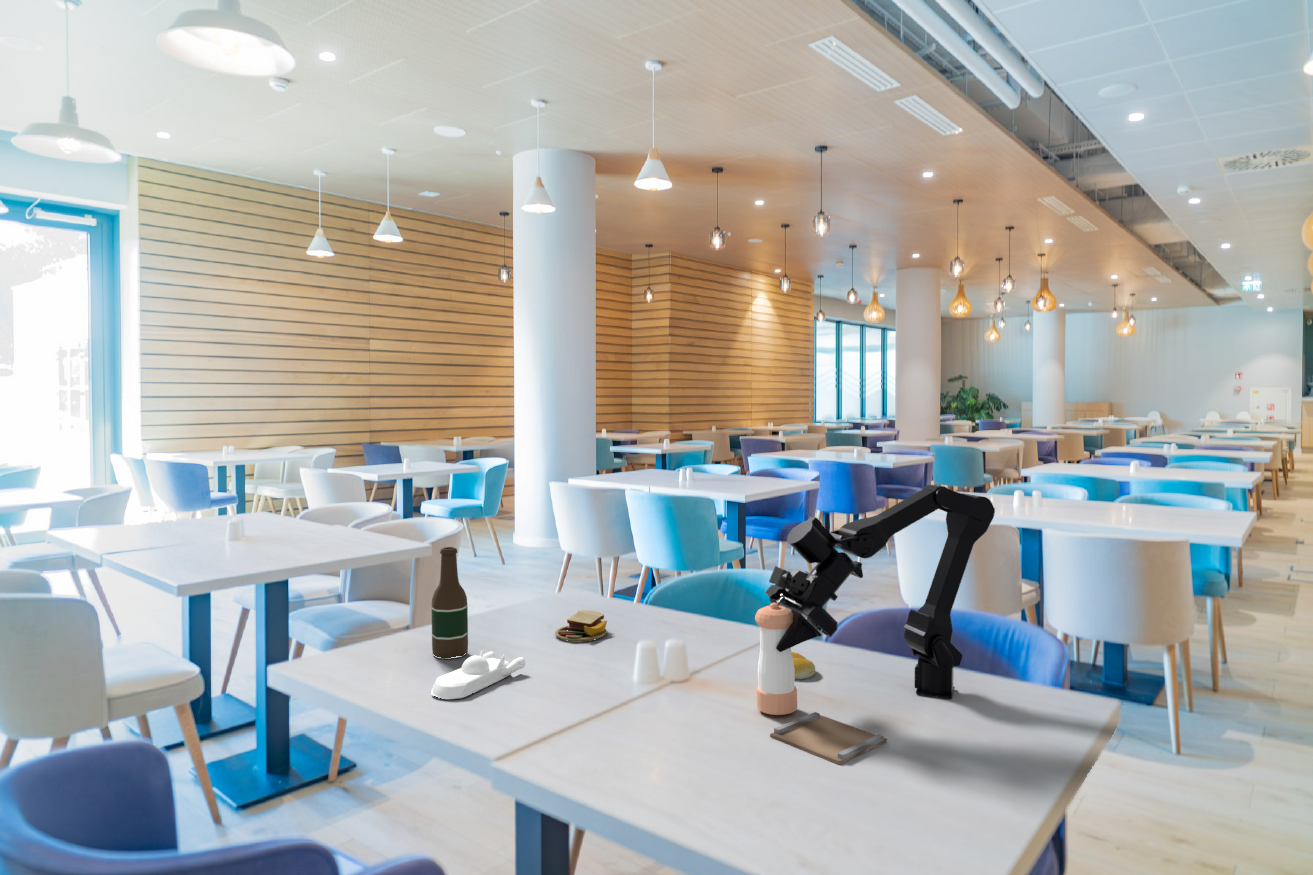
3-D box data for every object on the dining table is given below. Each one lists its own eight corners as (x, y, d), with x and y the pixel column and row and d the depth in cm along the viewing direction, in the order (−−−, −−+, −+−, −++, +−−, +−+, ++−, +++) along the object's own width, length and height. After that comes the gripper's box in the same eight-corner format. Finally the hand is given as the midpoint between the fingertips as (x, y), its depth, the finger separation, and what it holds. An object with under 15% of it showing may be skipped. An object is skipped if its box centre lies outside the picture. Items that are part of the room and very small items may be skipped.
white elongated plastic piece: (417, 696, 157) (417, 666, 157) (487, 666, 174) (487, 640, 174) (457, 705, 152) (457, 675, 152) (526, 674, 169) (525, 647, 169)
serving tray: (818, 717, 145) (818, 710, 145) (887, 741, 134) (887, 734, 134) (770, 736, 137) (770, 729, 137) (838, 764, 126) (838, 756, 126)
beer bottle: (475, 652, 183) (474, 546, 182) (449, 662, 177) (447, 552, 176) (451, 647, 188) (449, 543, 187) (424, 656, 181) (423, 548, 180)
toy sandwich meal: (543, 638, 196) (543, 618, 195) (580, 625, 207) (580, 607, 206) (584, 647, 188) (584, 626, 188) (619, 633, 200) (619, 614, 199)
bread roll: (785, 682, 164) (785, 663, 164) (767, 668, 172) (767, 650, 172) (823, 678, 166) (823, 659, 166) (803, 665, 175) (803, 646, 175)
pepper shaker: (805, 705, 148) (802, 601, 147) (782, 718, 143) (780, 610, 142) (771, 696, 153) (768, 595, 152) (748, 708, 148) (745, 604, 146)
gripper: (774, 542, 157) (721, 604, 154) (821, 560, 139) (762, 630, 136) (811, 580, 159) (760, 641, 157) (862, 602, 141) (805, 671, 139)
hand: (770, 645), depth 147 cm, fingers closed on pepper shaker, 6 cm apart
